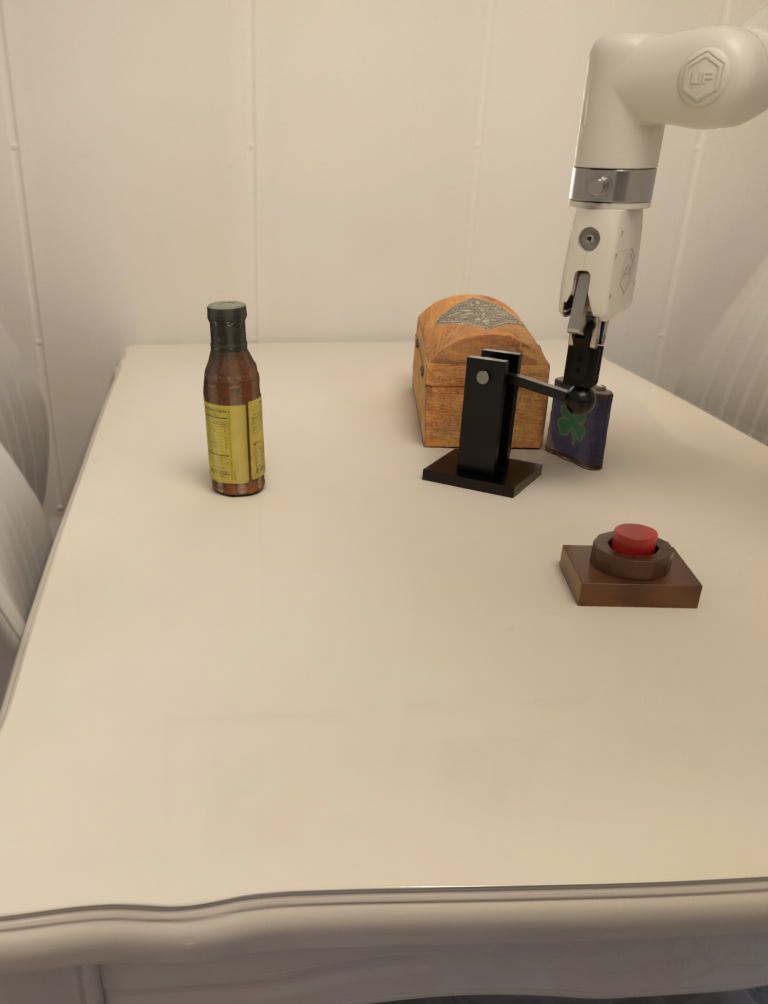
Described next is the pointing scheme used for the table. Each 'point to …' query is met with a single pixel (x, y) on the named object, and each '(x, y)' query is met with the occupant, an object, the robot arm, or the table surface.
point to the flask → (580, 429)
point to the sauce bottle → (233, 404)
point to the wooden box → (443, 357)
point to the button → (634, 539)
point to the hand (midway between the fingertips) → (579, 384)
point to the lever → (556, 392)
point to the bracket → (486, 431)
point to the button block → (628, 576)
